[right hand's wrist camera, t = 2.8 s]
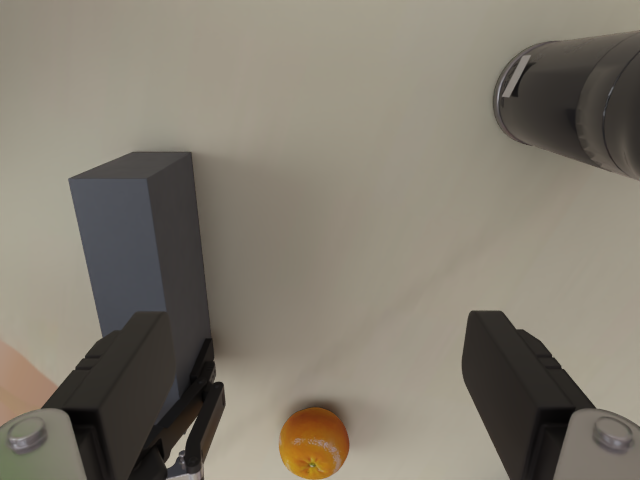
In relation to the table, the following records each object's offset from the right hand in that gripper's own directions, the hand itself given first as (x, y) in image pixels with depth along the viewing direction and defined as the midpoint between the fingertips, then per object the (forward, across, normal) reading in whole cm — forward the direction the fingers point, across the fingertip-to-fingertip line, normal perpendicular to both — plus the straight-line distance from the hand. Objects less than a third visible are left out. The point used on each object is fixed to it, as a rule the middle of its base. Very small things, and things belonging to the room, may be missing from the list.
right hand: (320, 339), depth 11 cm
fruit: (+34, -1, -36) cm, 49 cm away
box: (+34, -16, -13) cm, 40 cm away
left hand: (+32, -16, -23) cm, 42 cm away
